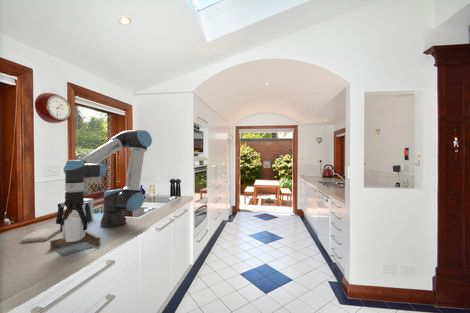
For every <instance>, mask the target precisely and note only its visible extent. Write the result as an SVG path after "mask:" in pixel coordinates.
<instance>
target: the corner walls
mask: <svg viewBox="0 0 470 313" xmlns="http://www.w3.org/2000/svg"><path fill="white" fill-rule="evenodd" d="M49 241H50V242H49V248H50V250H55V249H56V248H60V247H64V246H67V245H71V244H75V243H78V242H82V241H84V242H85V241H88V242H90V243H91V244H93V245H94V246H96V245H98V246H100V245H101V236H99V235H97V234H96V233H93V232H91V231H89V230H88V231H87V230H86V231H85V236H84V237H83V238H82V239H80V240H78V241H74V242H66V241H65V238H64V239H62V237H60V238H55V239H52V240H49Z"/></svg>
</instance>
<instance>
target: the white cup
mask: <svg viewBox="0 0 470 313" xmlns="http://www.w3.org/2000/svg"><path fill="white" fill-rule="evenodd" d="M81 224H83V223H82V220H81V218H80V217H75V218H72V217H70V218H69V217H68V219H66V220H64V231H65V241H66V242H74V241H78V240H80V239H82V238H81Z"/></svg>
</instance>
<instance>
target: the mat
mask: <svg viewBox="0 0 470 313" xmlns="http://www.w3.org/2000/svg"><path fill="white" fill-rule="evenodd" d="M92 248H93V246H92V245H91V244H89V243H88V242H86V241H85V240H84V241H80V242H77V243H73V244H69V245H66V246H62V247H58V248H55V249H54V251H56V252H58V254H60V255H61V256H62V257H66V256H69V255H73V254H75V253H79V252H83V251H85V250H89V249H92Z"/></svg>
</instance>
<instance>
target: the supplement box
mask: <svg viewBox="0 0 470 313" xmlns="http://www.w3.org/2000/svg"><path fill="white" fill-rule="evenodd" d="M84 202H91V204H90V211H91V217H92V220H94V198H85V197H84ZM82 207H83V211H84V213H85V206H84V204H83V206H82ZM71 212H72V213H71V214H72V216H71V218H75V217H80V216H79V214H78V212H77V211H76V210H72V211H71ZM85 216H86V213H85Z"/></svg>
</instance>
